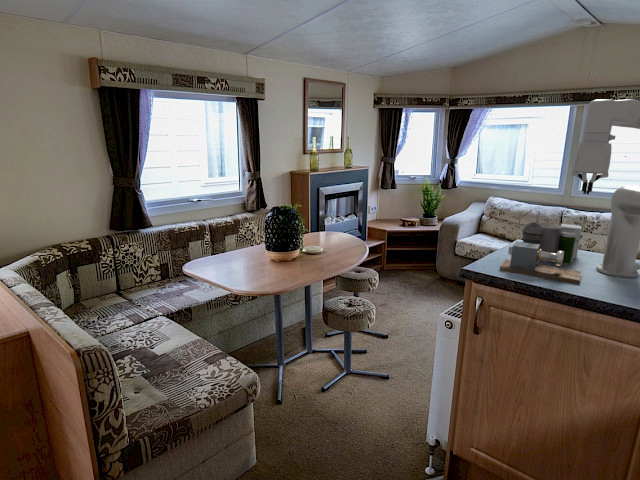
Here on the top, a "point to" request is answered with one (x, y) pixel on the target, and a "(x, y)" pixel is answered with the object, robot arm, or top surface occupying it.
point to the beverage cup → (532, 232)
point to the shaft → (547, 256)
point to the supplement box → (573, 229)
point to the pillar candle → (550, 237)
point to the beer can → (567, 246)
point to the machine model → (536, 265)
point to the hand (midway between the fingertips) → (586, 193)
